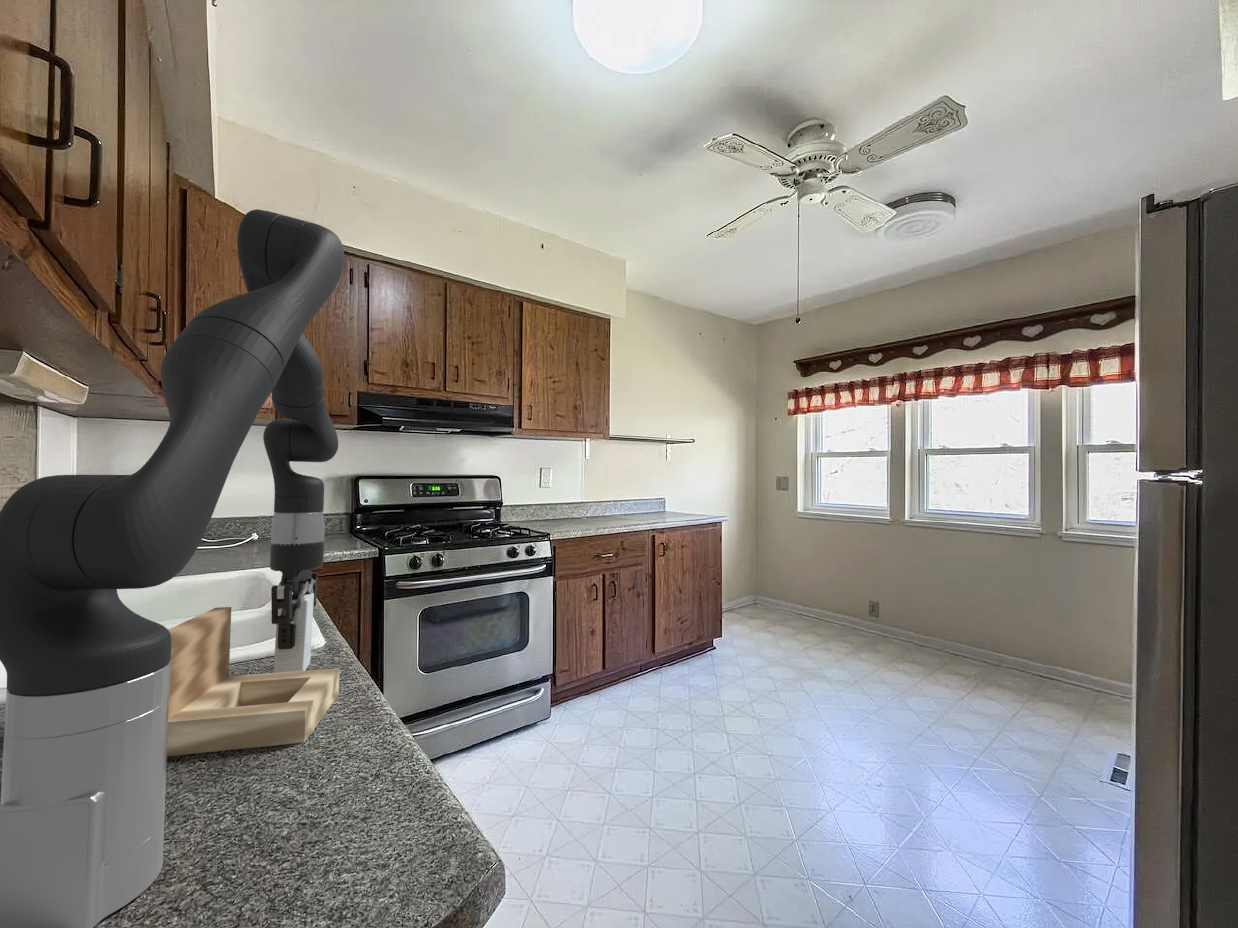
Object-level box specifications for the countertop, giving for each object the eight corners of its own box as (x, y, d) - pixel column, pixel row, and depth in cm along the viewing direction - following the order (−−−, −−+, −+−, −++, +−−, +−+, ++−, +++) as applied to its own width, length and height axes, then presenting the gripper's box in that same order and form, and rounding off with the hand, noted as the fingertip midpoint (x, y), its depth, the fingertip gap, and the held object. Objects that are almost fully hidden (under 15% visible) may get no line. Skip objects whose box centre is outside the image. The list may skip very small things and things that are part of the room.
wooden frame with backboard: (303, 744, 64) (306, 630, 65) (140, 760, 60) (145, 639, 61) (339, 693, 80) (342, 602, 80) (212, 703, 76) (215, 607, 76)
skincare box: (281, 666, 86) (284, 593, 87) (312, 663, 88) (314, 591, 88) (271, 679, 80) (275, 601, 81) (305, 675, 82) (307, 598, 83)
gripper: (308, 543, 79) (304, 654, 78) (335, 535, 93) (332, 629, 92) (252, 544, 77) (248, 657, 76) (288, 536, 91) (285, 631, 90)
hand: (294, 641), depth 84 cm, fingers closed on skincare box, 6 cm apart
